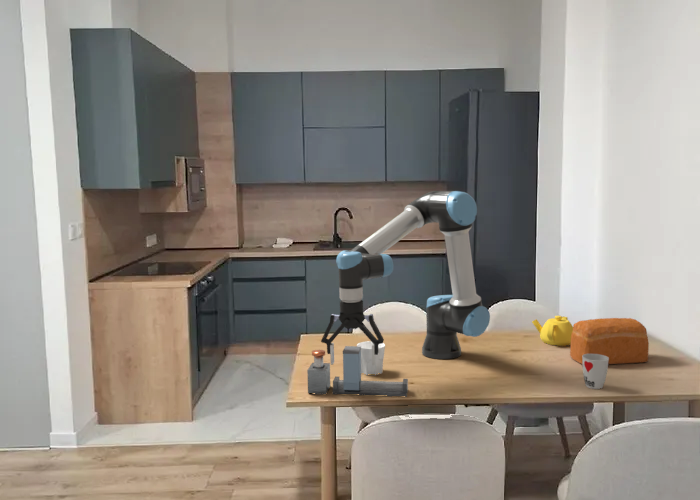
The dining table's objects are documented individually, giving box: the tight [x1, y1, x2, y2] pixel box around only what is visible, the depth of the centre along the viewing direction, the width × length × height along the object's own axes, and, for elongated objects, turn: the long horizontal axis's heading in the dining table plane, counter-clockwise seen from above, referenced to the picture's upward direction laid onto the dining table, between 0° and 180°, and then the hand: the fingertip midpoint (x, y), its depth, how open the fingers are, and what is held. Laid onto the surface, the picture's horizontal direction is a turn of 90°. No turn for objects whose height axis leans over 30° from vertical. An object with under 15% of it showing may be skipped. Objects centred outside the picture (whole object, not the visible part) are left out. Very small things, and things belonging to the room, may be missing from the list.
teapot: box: [531, 315, 573, 347], centre depth 268 cm, size 20×18×11 cm
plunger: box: [311, 349, 326, 368], centre depth 212 cm, size 4×4×9 cm
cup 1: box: [356, 340, 386, 376], centre depth 231 cm, size 10×10×10 cm
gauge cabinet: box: [307, 362, 331, 395], centre depth 213 cm, size 6×8×8 cm
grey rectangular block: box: [342, 345, 362, 390], centre depth 211 cm, size 5×6×13 cm
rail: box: [331, 376, 409, 398], centre depth 211 cm, size 24×7×4 cm, turn 82°
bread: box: [569, 317, 650, 365], centre depth 242 cm, size 14×26×16 cm, turn 98°
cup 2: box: [582, 354, 609, 390], centre depth 213 cm, size 8×8×10 cm
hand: (353, 363), depth 211 cm, fingers open, 13 cm apart
